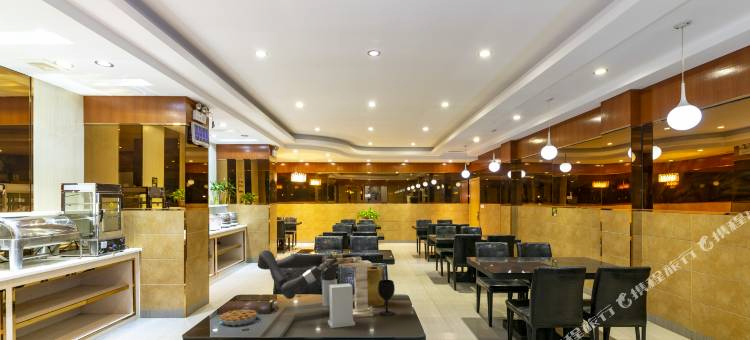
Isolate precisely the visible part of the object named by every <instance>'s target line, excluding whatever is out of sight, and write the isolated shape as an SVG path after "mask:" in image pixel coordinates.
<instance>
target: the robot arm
mask: <svg viewBox="0 0 750 340" xmlns="http://www.w3.org/2000/svg"><path fill="white" fill-rule="evenodd" d="M325 259H333V260H332V261H330V262H329V263H325ZM336 262H337V258H336V257H334V256H333V255H331V254H322V255H321V254H319V255H313V254H290V255H288V256H285V257H284V258H282V259H277V260H276V257H275V255H274V253H273V252H272V251H270V250H266V249H264V250H262V251H261V252H259V256H258V261H257V267H258V268H259V269H261V270H266V271H267V270H269V272H270V276H271V278H272V280H273V282H274V284H276V286H277V288H279V289H280V292H281V293H282V295H283V296H284V298H285V299H287V300H291V299H294V298H295V296H296V293H297V292H296V289H297V288H299V290H300V289H301V290H302V289H304V288H306V287H307V286H308V285H310V284H312V283H314V282H315V281H316V280H318V279H319V278H321V277H322V278H321V279H322V282H321V283H322V289H321V290H322V306H323V307H330V300H329V285H334V284H337V273H338V272H337V271H338V270H337V269H338V264H334V263H336ZM307 268H310V269H308V270H306V271H305V272H304V273H303V274H301V275H300V276H298V277H296V278H294V279H293V278H292V279H291V280H288V278H287V276H286V274H284V272H283V271H282V269H299V270H300V269H307Z"/></svg>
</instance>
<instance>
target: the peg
mask: <svg viewBox="0 0 750 340" xmlns="http://www.w3.org/2000/svg"><path fill="white" fill-rule="evenodd" d="M336 259H337V262H336V263H334V264H337V265H340V264H347V263H362V261H363V260H362V259H363V258H362V257H361V256H351V257H340V258H338V257H337V258H336ZM332 260H333V259H325V263H329V262H330V261H332Z"/></svg>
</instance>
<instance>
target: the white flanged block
mask: <svg viewBox="0 0 750 340" xmlns="http://www.w3.org/2000/svg"><path fill="white" fill-rule="evenodd" d="M353 291H354V290H353V285H352V284H351V283H350V282H349V283H348V282H346V283H336V284H334V285H329V300H330V306H329V319H327V324H328V325H329V328H330V329H333V328H334V329H335V328H336V329H337V328H343V327H344V328H345V327H353V326H356V322H355V321H354V318H353V309H354V307H353V305H354V303H353V301H354V300H353V298H354V297H353V296H354V295H353Z"/></svg>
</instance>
